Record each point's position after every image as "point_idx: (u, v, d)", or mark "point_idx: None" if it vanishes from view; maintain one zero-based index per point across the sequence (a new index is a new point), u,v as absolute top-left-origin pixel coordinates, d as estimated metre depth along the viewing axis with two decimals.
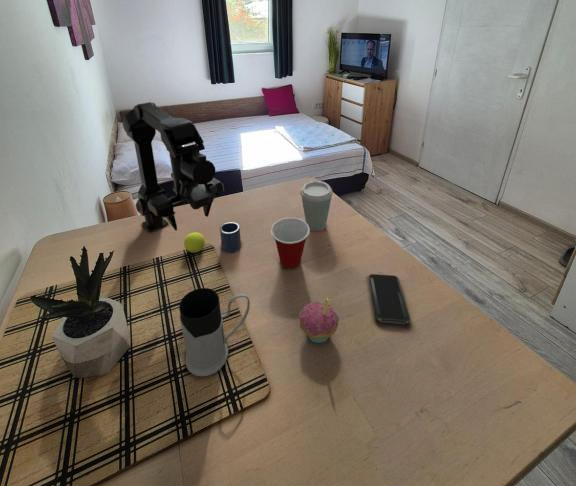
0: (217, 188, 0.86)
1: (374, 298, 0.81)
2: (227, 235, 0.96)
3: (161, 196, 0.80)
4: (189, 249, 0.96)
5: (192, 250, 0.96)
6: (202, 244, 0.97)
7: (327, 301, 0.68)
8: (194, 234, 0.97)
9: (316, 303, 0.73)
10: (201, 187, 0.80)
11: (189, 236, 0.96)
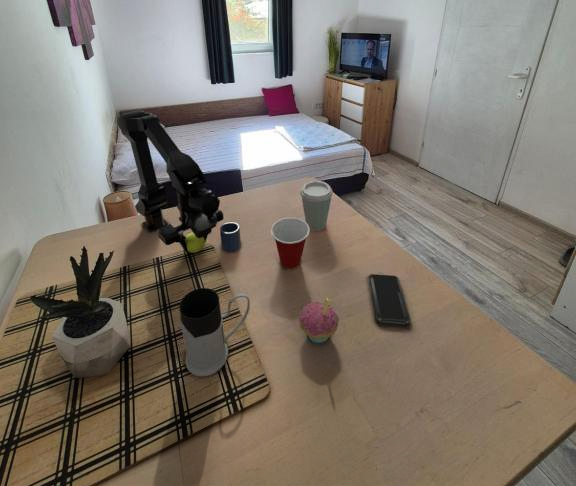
0: (218, 217, 0.98)
1: (374, 298, 0.81)
2: (227, 235, 0.96)
3: (169, 226, 0.92)
4: (189, 249, 0.96)
5: (192, 250, 0.96)
6: (202, 244, 0.97)
7: (327, 301, 0.68)
8: (194, 234, 0.97)
9: (316, 303, 0.73)
10: (203, 218, 0.91)
11: (189, 236, 0.96)
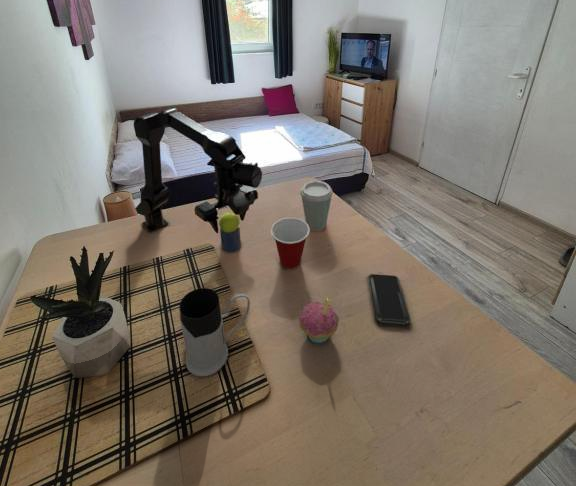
0: None
1: (374, 298, 0.81)
2: (227, 235, 0.96)
3: (206, 203, 0.91)
4: (225, 229, 0.95)
5: (228, 230, 0.95)
6: (237, 224, 0.96)
7: (327, 301, 0.68)
8: (229, 214, 0.96)
9: (316, 303, 0.73)
10: (241, 195, 0.90)
11: (224, 216, 0.96)
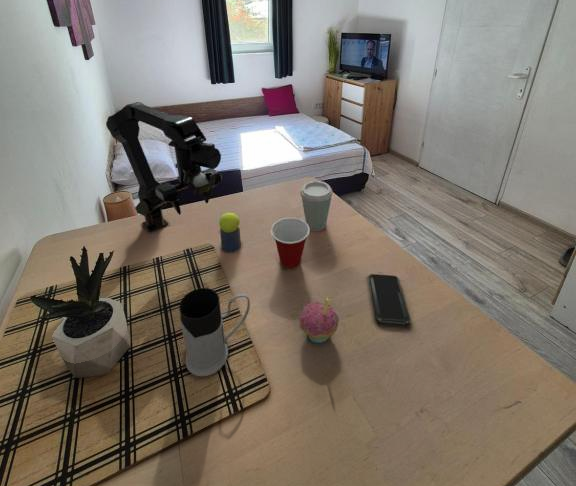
0: (216, 177, 0.98)
1: (374, 298, 0.81)
2: (227, 235, 0.96)
3: (167, 184, 0.92)
4: (225, 229, 0.95)
5: (228, 230, 0.95)
6: (237, 224, 0.96)
7: (327, 301, 0.68)
8: (229, 214, 0.96)
9: (316, 303, 0.73)
10: (201, 176, 0.91)
11: (224, 216, 0.96)
